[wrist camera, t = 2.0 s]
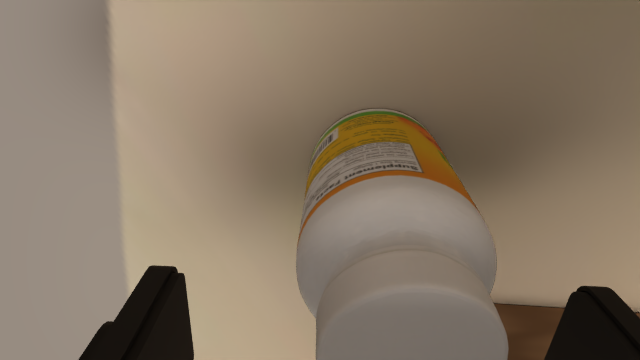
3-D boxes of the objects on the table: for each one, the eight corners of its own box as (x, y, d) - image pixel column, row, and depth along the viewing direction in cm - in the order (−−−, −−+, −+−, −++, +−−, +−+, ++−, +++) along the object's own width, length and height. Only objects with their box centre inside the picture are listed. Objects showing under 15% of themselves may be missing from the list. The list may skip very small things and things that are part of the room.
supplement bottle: (443, 210, 18) (546, 430, 9) (325, 230, 18) (314, 452, 10) (431, 92, 15) (552, 233, 7) (296, 120, 16) (249, 281, 7)
